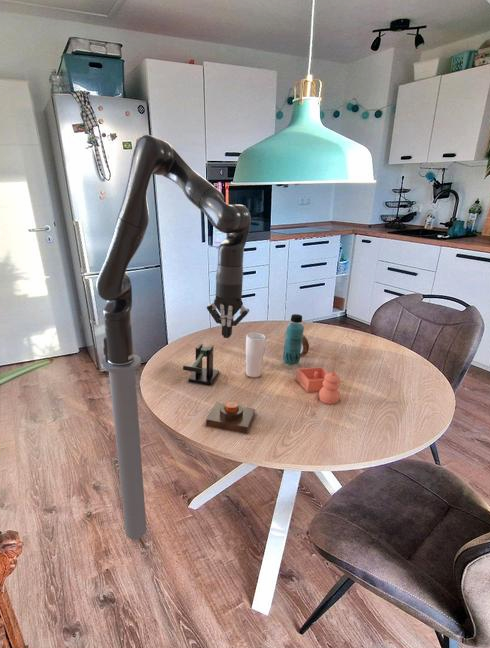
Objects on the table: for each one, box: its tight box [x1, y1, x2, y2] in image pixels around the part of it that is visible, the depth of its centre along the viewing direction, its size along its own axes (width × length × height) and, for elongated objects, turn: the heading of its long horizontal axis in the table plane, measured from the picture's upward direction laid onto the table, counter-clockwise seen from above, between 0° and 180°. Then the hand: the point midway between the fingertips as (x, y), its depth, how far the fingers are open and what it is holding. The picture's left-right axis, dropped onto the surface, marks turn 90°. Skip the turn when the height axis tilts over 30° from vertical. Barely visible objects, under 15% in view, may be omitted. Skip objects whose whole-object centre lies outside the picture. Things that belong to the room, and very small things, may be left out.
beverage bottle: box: [282, 313, 305, 366], centre depth 144 cm, size 6×7×20 cm
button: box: [224, 400, 239, 413], centre depth 111 cm, size 4×4×2 cm
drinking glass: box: [245, 332, 267, 378], centre depth 137 cm, size 7×7×15 cm
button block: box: [205, 401, 256, 435], centre depth 112 cm, size 12×10×4 cm
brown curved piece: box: [284, 332, 310, 356], centre depth 159 cm, size 15×3×8 cm, turn 22°
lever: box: [182, 345, 210, 373], centre depth 128 cm, size 14×6×2 cm, turn 164°
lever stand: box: [188, 343, 220, 386], centre depth 134 cm, size 10×8×12 cm
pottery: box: [295, 366, 341, 405], centre depth 129 cm, size 18×10×10 cm, turn 14°
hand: (226, 337), depth 117 cm, fingers closed
